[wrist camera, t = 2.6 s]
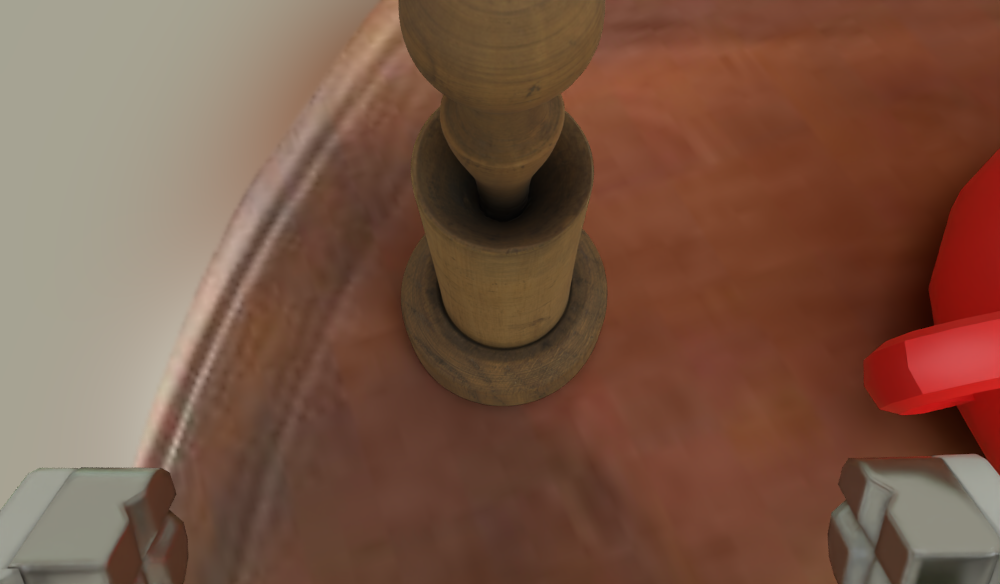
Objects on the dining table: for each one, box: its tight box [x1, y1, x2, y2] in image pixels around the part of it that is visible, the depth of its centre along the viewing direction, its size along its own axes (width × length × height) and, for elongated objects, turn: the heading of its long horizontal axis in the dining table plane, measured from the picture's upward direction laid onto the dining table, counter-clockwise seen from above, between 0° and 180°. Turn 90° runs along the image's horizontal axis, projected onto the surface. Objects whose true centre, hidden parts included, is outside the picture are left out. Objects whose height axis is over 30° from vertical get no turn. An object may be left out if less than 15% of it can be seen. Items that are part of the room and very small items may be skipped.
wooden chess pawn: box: [399, 0, 607, 406], centre depth 20 cm, size 7×6×18 cm
